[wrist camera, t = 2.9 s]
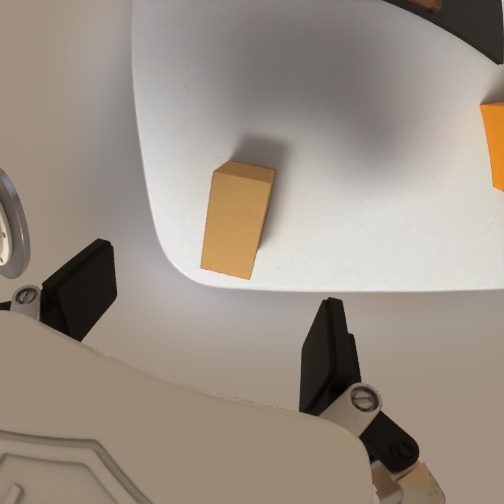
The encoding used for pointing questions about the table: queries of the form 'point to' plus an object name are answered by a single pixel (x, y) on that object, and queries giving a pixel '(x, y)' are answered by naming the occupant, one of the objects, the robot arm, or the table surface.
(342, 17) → the table surface
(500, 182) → the orange juice
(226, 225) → the brown block
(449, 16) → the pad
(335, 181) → the table surface
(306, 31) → the table surface
